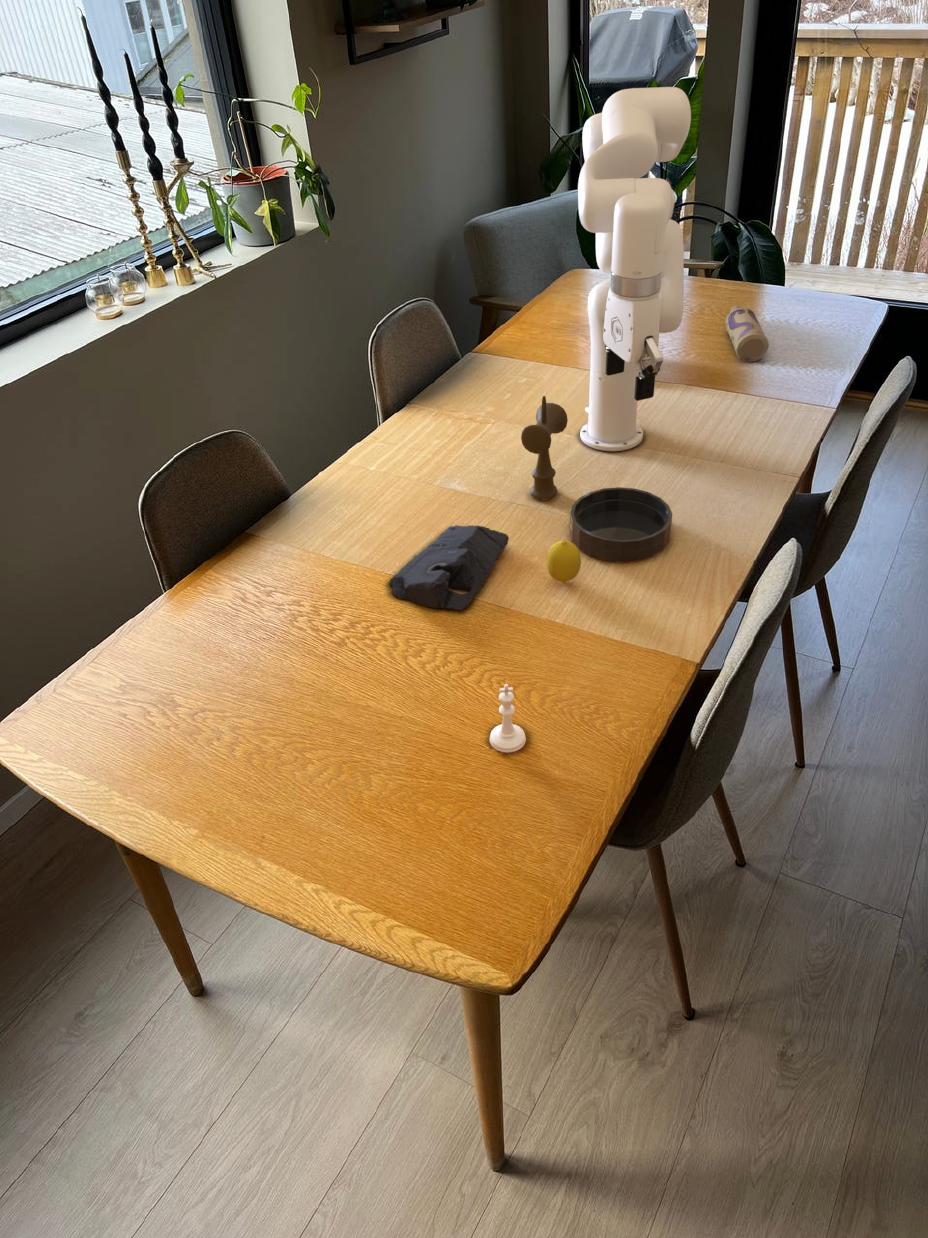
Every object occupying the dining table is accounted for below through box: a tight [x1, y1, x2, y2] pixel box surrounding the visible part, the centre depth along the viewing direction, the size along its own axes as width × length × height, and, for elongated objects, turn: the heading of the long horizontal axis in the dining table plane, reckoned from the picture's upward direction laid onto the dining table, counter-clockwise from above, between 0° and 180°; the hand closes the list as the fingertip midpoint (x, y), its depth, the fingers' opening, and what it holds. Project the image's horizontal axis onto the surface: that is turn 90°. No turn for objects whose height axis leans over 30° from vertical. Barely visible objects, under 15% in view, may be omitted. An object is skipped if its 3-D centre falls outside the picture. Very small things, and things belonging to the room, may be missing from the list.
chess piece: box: [489, 683, 527, 753], centre depth 129 cm, size 5×5×10 cm
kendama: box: [520, 395, 569, 501], centre depth 175 cm, size 6×10×20 cm, turn 157°
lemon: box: [546, 539, 582, 583], centre depth 157 cm, size 6×6×8 cm
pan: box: [569, 486, 673, 563], centre depth 168 cm, size 17×17×4 cm
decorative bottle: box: [724, 304, 770, 363], centre depth 229 cm, size 26×8×7 cm, turn 176°
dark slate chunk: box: [388, 524, 510, 611], centre depth 162 cm, size 15×22×5 cm
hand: (628, 385), depth 158 cm, fingers open, 9 cm apart
